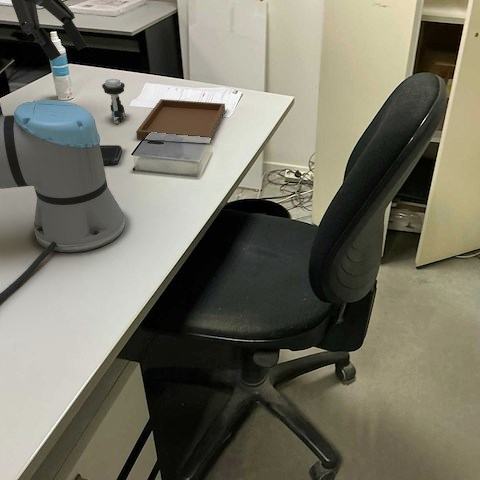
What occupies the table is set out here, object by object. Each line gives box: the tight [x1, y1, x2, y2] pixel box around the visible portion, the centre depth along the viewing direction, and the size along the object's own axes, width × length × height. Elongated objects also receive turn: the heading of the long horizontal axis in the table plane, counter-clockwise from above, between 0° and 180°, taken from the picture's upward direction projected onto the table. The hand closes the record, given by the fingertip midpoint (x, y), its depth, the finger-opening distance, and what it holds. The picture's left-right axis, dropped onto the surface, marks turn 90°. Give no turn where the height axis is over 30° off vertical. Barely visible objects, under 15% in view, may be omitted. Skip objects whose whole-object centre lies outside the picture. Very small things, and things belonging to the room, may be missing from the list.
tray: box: [136, 98, 226, 141], centre depth 142 cm, size 22×18×2 cm
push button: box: [101, 78, 126, 124], centre depth 140 cm, size 7×5×10 cm
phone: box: [100, 144, 123, 166], centre depth 124 cm, size 8×1×15 cm
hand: (70, 53), depth 131 cm, fingers open, 13 cm apart
